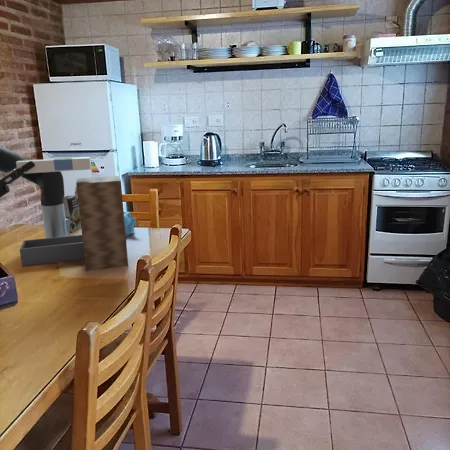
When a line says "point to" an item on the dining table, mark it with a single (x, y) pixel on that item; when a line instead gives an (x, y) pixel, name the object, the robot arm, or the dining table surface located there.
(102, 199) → the brown zigzag patterned box
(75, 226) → the coffee box
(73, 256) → the tray
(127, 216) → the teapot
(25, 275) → the dining table surface
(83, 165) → the spaghetti box
